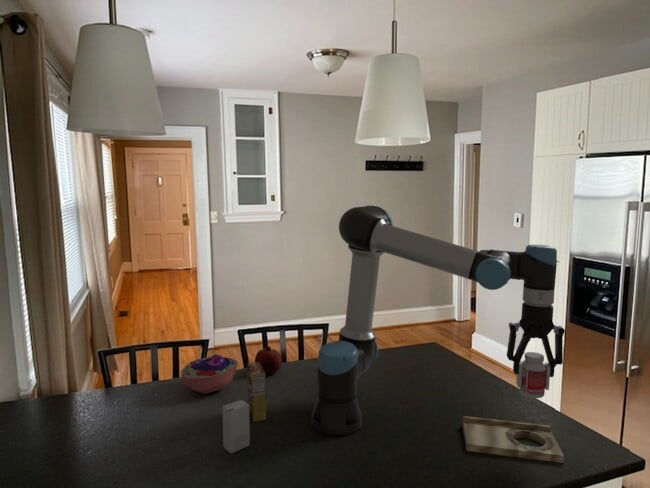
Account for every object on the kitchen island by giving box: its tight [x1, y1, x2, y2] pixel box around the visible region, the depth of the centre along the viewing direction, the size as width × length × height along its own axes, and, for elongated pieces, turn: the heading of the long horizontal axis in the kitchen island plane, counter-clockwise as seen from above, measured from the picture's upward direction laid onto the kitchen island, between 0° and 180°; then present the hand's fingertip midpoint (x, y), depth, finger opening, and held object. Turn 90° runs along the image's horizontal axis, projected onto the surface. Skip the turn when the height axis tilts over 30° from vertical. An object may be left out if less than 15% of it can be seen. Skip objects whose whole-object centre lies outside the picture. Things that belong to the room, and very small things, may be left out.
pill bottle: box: [519, 351, 546, 399], centre depth 122 cm, size 6×6×11 cm
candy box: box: [246, 361, 267, 423], centre depth 139 cm, size 9×4×15 cm, turn 20°
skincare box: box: [222, 399, 251, 454], centre depth 122 cm, size 6×4×12 cm
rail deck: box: [462, 415, 565, 464], centre depth 126 cm, size 24×13×3 cm, turn 78°
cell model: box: [180, 354, 239, 395], centre depth 156 cm, size 17×20×11 cm
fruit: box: [254, 345, 283, 375], centre depth 171 cm, size 11×10×10 cm
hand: (532, 386), depth 123 cm, fingers closed on pill bottle, 6 cm apart
